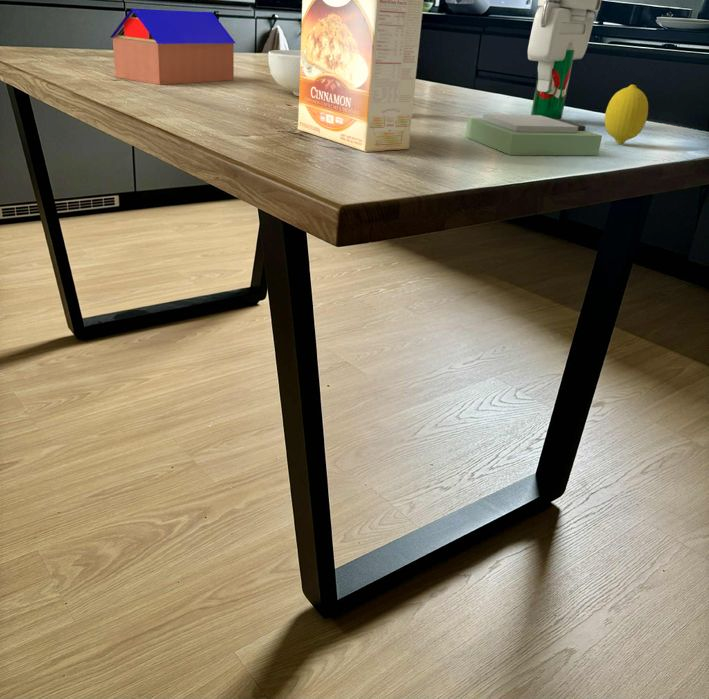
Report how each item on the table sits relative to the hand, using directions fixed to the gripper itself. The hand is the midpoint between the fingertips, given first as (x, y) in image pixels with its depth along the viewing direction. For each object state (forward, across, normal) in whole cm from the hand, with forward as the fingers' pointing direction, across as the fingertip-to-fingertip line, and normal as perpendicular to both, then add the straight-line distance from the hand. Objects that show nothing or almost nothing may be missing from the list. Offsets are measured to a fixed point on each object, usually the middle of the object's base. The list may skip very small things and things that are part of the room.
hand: (550, 90), depth 117 cm
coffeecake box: (+5, -44, +11) cm, 46 cm away
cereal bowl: (+5, -12, +38) cm, 40 cm away
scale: (+5, -28, -7) cm, 29 cm away
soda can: (+5, 0, 0) cm, 5 cm away
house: (+5, -17, +67) cm, 69 cm away
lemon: (+5, -14, -15) cm, 22 cm away
